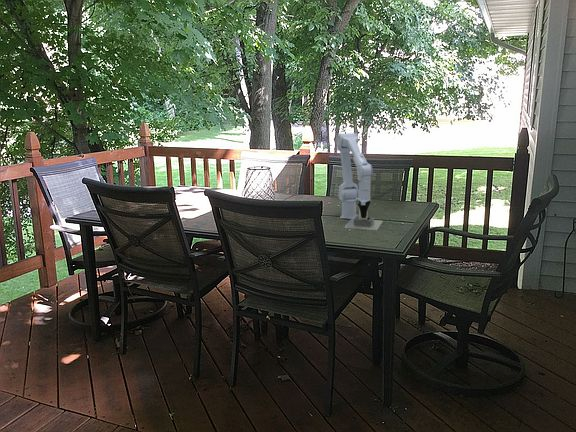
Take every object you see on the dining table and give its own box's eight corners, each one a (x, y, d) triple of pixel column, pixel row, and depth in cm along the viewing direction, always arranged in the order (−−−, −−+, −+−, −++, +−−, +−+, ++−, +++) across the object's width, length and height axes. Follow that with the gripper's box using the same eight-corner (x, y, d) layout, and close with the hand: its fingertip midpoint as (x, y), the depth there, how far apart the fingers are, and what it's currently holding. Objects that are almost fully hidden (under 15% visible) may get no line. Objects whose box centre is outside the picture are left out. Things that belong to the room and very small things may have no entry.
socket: (351, 220, 262) (351, 214, 262) (382, 222, 257) (382, 215, 257) (344, 228, 248) (344, 221, 247) (377, 230, 243) (377, 223, 242)
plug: (359, 220, 254) (359, 206, 253) (367, 220, 254) (367, 206, 252) (358, 221, 251) (358, 208, 249) (366, 222, 250) (367, 208, 248)
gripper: (357, 186, 256) (357, 213, 259) (354, 192, 242) (354, 219, 246) (371, 187, 255) (371, 213, 258) (369, 192, 241) (369, 220, 244)
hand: (364, 216), depth 252 cm, fingers closed on plug, 4 cm apart
